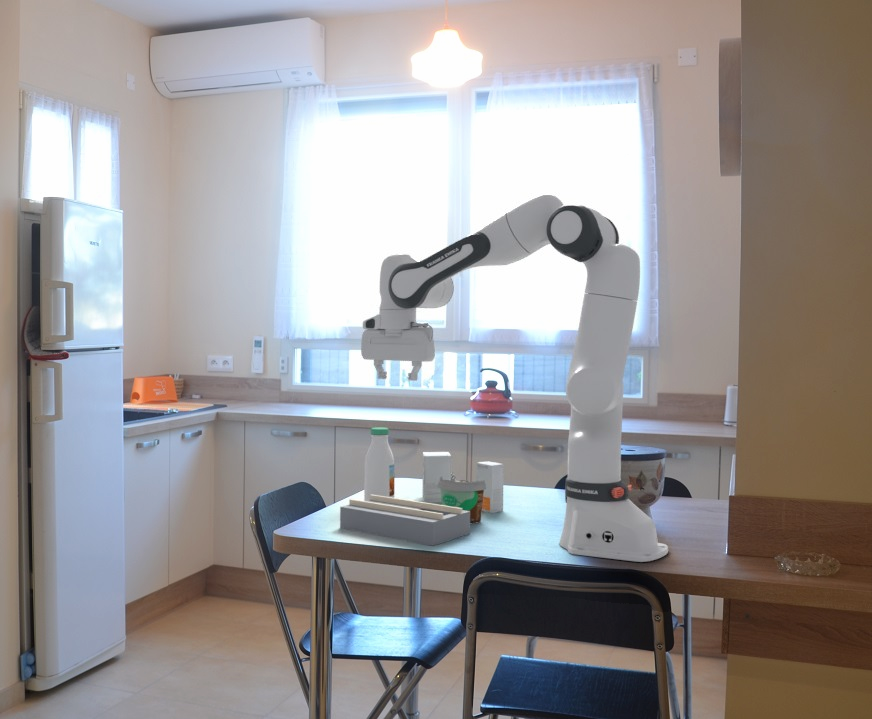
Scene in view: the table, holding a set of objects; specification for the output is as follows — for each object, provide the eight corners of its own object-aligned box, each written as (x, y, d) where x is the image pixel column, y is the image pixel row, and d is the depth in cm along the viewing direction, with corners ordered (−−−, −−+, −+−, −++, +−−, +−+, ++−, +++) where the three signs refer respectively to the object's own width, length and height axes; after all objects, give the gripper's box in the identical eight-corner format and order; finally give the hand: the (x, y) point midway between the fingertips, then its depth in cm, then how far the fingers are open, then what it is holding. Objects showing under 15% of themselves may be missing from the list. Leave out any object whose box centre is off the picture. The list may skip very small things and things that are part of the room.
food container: (427, 521, 205) (428, 479, 204) (439, 516, 210) (440, 475, 210) (475, 527, 199) (475, 484, 199) (486, 522, 204) (486, 480, 204)
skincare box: (475, 509, 219) (475, 462, 219) (488, 507, 222) (488, 460, 222) (491, 513, 214) (491, 465, 214) (504, 511, 217) (504, 463, 217)
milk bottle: (383, 509, 218) (383, 430, 218) (358, 506, 222) (358, 428, 222) (400, 504, 225) (400, 427, 224) (375, 501, 229) (376, 425, 228)
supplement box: (449, 498, 234) (449, 451, 234) (451, 503, 227) (451, 455, 226) (422, 498, 234) (422, 451, 233) (423, 503, 226) (423, 455, 226)
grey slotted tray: (470, 533, 193) (470, 505, 193) (432, 546, 182) (433, 516, 181) (379, 518, 208) (379, 492, 208) (340, 528, 197) (340, 501, 197)
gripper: (440, 322, 205) (440, 380, 206) (373, 322, 217) (373, 377, 218) (424, 322, 200) (424, 382, 200) (357, 321, 212) (357, 378, 212)
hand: (397, 379), depth 209 cm, fingers open, 8 cm apart
